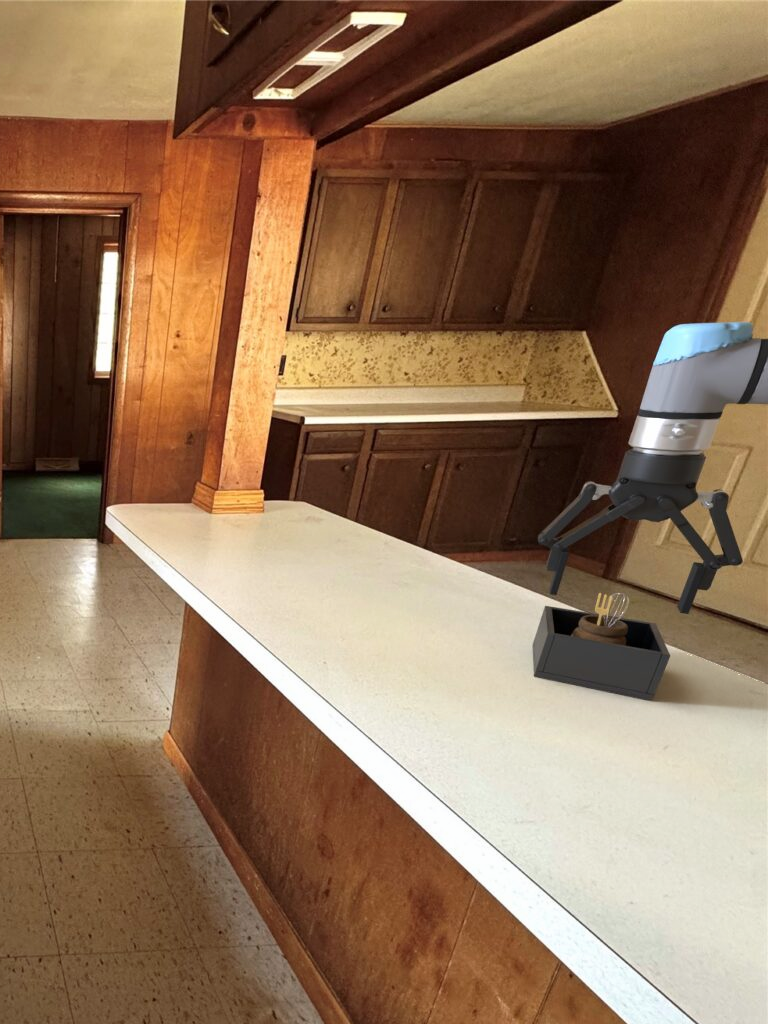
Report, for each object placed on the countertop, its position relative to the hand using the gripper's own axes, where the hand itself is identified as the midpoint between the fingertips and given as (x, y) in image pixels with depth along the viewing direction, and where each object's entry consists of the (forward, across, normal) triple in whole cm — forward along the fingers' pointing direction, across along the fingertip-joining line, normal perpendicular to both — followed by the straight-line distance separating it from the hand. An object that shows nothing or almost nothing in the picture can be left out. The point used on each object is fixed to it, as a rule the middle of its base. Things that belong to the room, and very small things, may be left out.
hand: (614, 601), depth 94 cm
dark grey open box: (+11, 0, 0) cm, 11 cm away
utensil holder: (+10, 0, 0) cm, 11 cm away
